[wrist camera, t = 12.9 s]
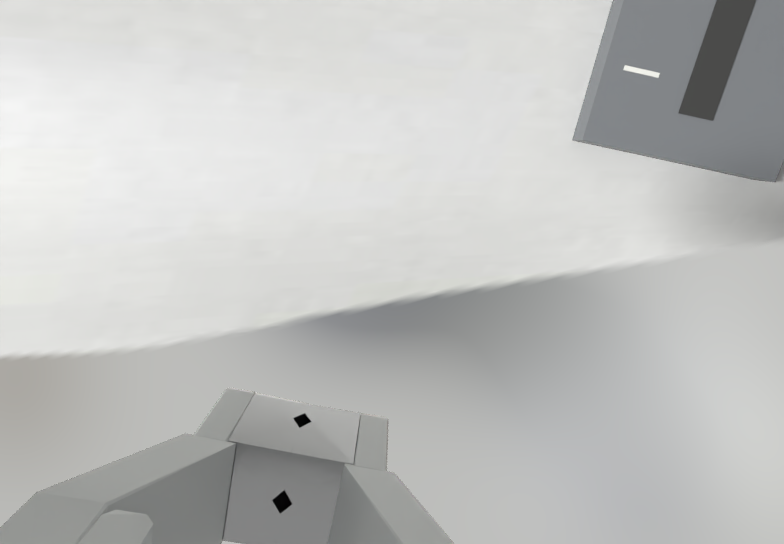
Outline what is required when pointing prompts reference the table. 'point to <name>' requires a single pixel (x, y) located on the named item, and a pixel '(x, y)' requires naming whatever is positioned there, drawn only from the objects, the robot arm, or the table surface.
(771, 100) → the console board
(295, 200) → the table surface
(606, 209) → the table surface
